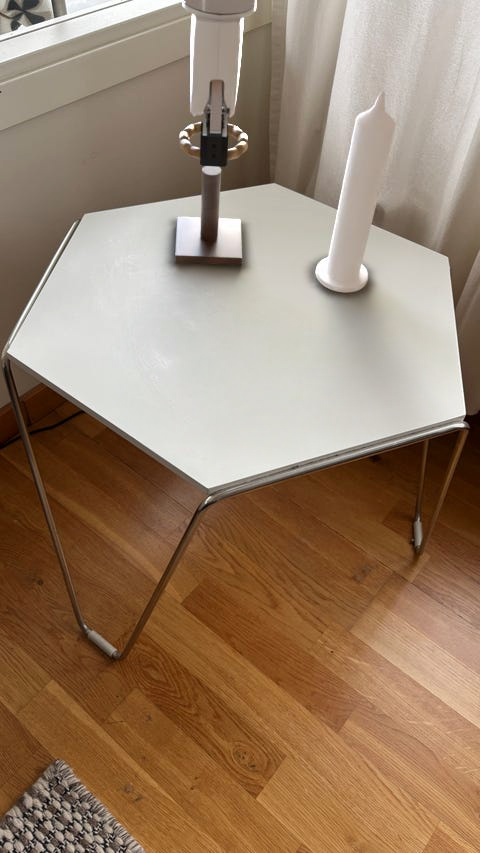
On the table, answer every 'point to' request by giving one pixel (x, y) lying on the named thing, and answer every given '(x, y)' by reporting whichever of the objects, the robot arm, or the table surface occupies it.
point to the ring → (195, 151)
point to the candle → (358, 200)
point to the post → (209, 229)
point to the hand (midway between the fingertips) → (213, 159)
